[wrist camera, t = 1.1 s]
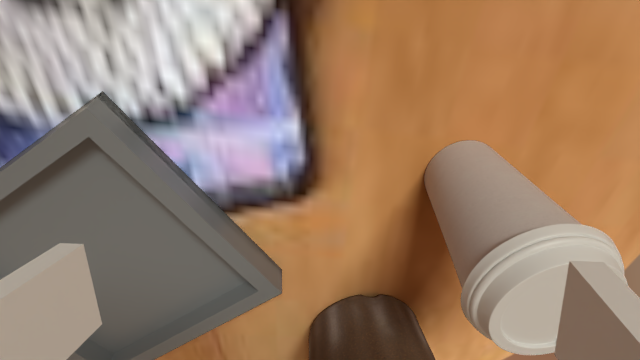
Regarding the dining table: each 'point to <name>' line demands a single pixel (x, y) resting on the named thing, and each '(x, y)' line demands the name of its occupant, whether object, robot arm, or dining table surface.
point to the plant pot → (368, 331)
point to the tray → (130, 234)
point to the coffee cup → (509, 246)
